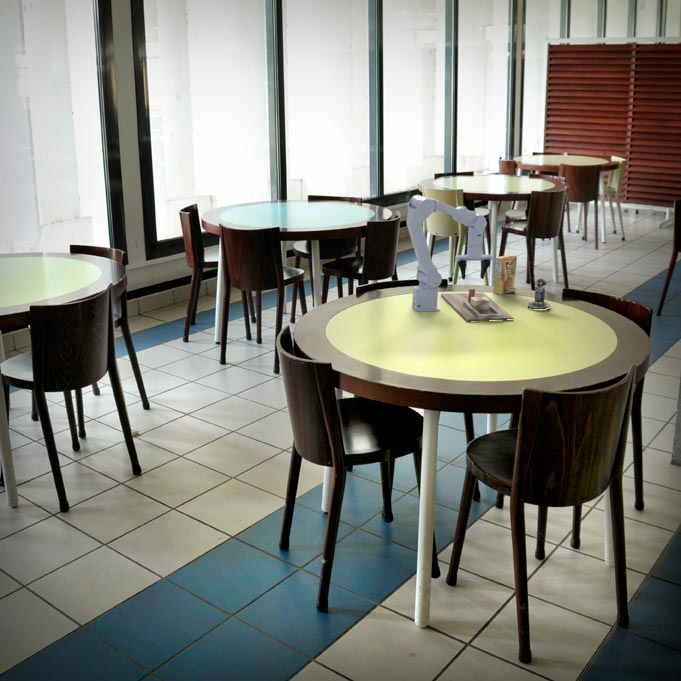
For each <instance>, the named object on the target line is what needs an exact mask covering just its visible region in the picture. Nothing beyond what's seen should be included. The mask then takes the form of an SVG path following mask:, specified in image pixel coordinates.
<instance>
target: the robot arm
mask: <svg viewBox="0 0 681 681" xmlns="http://www.w3.org/2000/svg"><path fill="white" fill-rule="evenodd" d="M406 205H407V216H406V228H407V230H408V233H409V237H410V239H411V240H410V241H411V244H412V247H413V250H414V253H415V257H416V261H417V266H416V279H417V280H418V282H419V284H418V286H414V287H413V289H412V301H411V302H412V303H411V307H412V309H414V310H415V311H416V312H437V311H438V312H440V311H441V308H439V307H438V294H439V292H438V291H439V286H440V285H441V284H442V280H443V277H442V275H441V273H439V271H438V268H437V267H436V265H435V264H434V262H433V259H432V256H431V254H430V253H431V252H430V250H429V246H428V242H427V239H426V235H425V232H424V231H425V230H424V229H423V223H424V222H425V221H426V220H427V219H428V218H429V217H430V216H431V215H432V214H433V213H436V212H441V213H443V214H444V213H445V214H447V215H449V216H452V220H454V222H458V223H459V224H462V225H464V226H467V227H468V234H467V246H466V247H467V249H466V254H459V255H455V259H454V260H455V262H457V265H458V266H459V270H460V275H461V279H462V280H465V279H466V271H467V265H468V264H467V263H466V262H467V261H468V262H469V261H470V262H473V261H477V262H478V261H480V274H479V275H480V279H481V280H484V278H485V275H486V272H487V270H488V268H489V267H490V265H491V262H492V261H493V258H494V257H493V256H494V255H492V254H483V241H484V240H483V239H484V231H485V229H486V227H487V224H488V222H487V220H486V217H485V216H484V215H482V214H478V213H477V211H475V210H469V209H468V208H467V207H466V206H465V205H462V206H457V207H454V206H452V205H449V204H447V203H446V202H443V201H441V200H438V199H435V198H431V197H428V196H422V195H419V194H416V195H413V196H411V198H410V200H409V202H408V203H407V204H406Z"/></svg>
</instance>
